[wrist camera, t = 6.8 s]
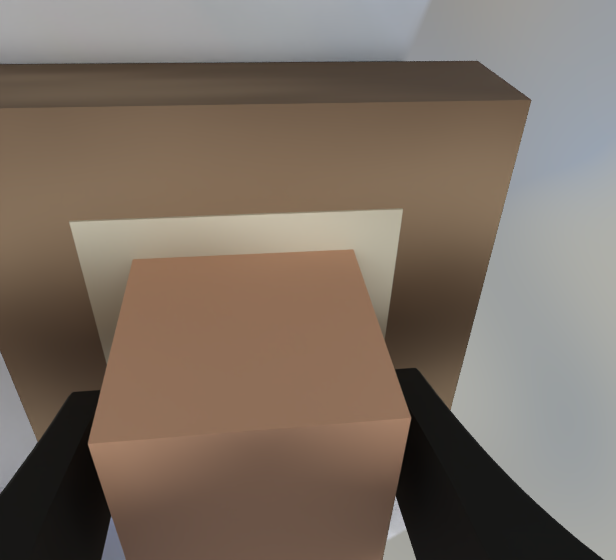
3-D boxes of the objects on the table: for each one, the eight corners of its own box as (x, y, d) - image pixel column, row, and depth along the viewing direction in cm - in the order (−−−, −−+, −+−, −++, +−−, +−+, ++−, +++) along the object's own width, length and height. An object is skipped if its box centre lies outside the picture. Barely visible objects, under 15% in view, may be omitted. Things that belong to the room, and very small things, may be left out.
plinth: (412, 393, 21) (437, 463, 18) (81, 419, 19) (59, 497, 17) (477, 60, 14) (532, 100, 11) (-36, 64, 12) (-101, 110, 10)
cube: (340, 396, 16) (379, 573, 12) (162, 409, 15) (139, 600, 11) (353, 249, 13) (411, 418, 9) (132, 259, 12) (87, 443, 8)
